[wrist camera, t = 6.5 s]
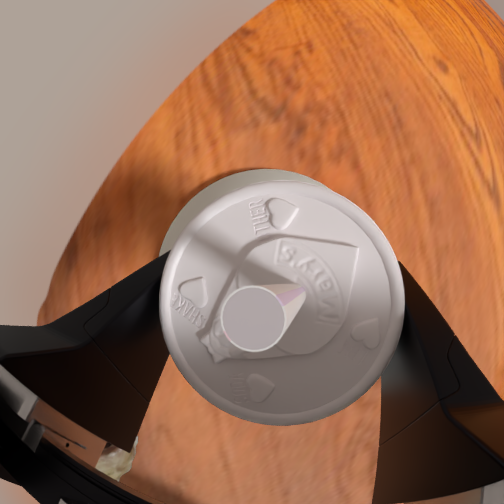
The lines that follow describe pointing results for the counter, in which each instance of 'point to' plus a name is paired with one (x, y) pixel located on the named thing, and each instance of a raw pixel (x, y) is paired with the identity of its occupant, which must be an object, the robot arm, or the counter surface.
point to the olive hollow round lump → (116, 460)
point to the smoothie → (281, 302)
